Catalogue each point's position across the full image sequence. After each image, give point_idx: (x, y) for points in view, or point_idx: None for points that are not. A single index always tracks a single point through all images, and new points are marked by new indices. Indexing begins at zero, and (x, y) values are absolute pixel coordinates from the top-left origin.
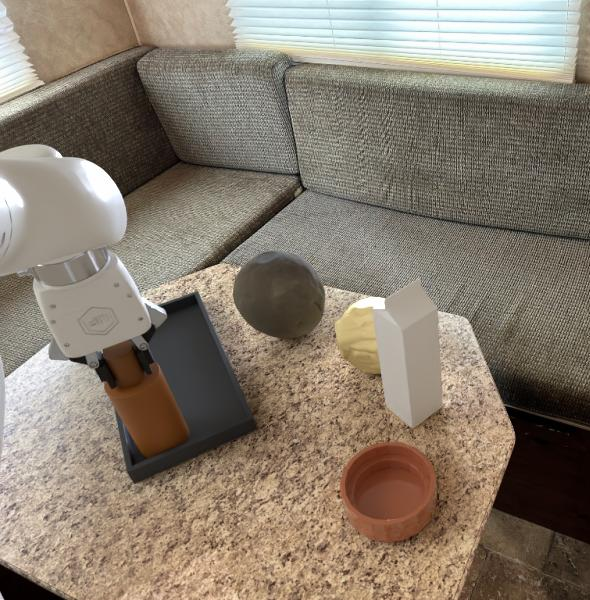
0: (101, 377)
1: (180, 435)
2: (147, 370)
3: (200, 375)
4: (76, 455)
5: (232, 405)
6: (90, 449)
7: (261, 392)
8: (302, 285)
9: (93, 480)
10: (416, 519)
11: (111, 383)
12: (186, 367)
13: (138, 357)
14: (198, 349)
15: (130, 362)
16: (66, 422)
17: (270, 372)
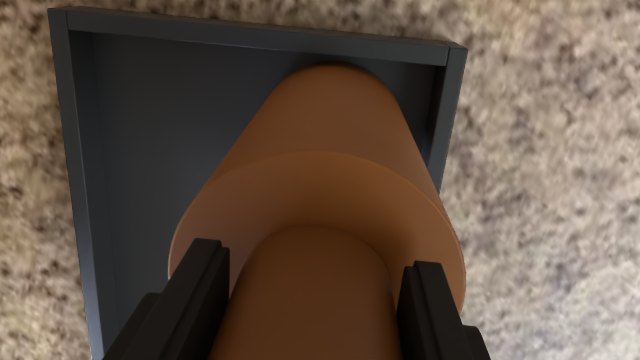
0: (474, 351)
1: (279, 86)
2: (204, 256)
3: None
4: (543, 236)
5: (125, 135)
6: (507, 233)
7: (44, 138)
8: None
9: (540, 128)
10: None
11: (430, 283)
12: None
13: (178, 349)
14: None
15: (252, 341)
16: (523, 347)
17: (7, 191)
